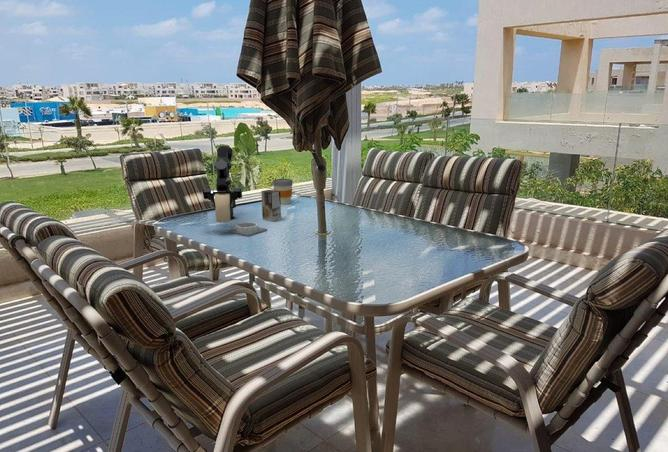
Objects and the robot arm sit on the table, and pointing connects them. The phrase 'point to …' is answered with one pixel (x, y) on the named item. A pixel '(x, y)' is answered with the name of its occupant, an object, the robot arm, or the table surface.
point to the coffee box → (271, 205)
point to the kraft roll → (222, 207)
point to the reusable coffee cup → (283, 189)
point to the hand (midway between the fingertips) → (222, 207)
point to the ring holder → (247, 229)
